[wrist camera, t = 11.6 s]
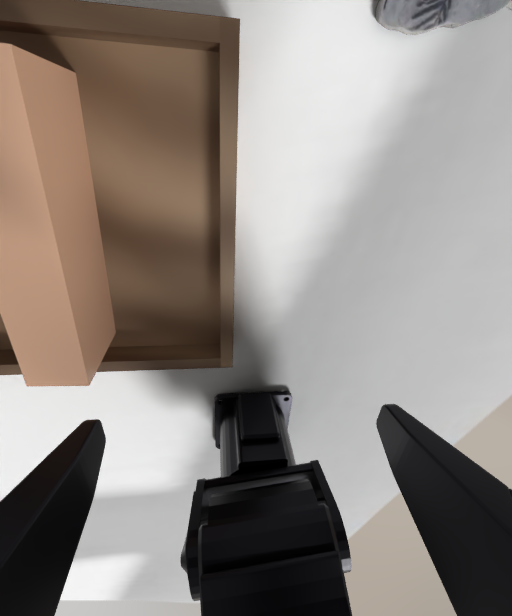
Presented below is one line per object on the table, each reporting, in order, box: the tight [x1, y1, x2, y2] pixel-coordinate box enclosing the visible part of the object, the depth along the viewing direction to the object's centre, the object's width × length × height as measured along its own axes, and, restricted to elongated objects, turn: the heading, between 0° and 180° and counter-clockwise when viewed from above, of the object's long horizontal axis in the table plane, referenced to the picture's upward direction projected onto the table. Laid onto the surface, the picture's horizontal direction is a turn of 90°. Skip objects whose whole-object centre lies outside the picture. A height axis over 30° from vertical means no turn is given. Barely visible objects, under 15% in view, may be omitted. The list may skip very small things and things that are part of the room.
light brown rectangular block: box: [0, 43, 116, 386], centre depth 15 cm, size 14×3×5 cm, turn 174°
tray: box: [0, 0, 240, 375], centre depth 16 cm, size 18×18×2 cm
